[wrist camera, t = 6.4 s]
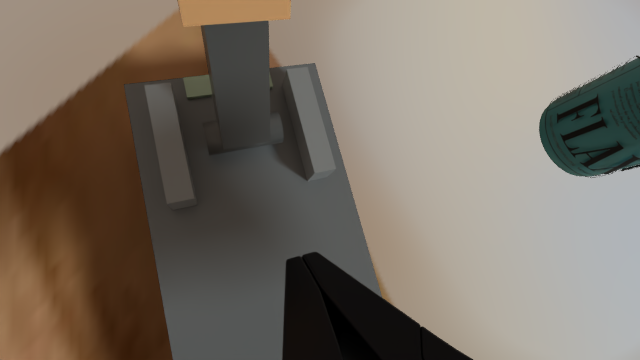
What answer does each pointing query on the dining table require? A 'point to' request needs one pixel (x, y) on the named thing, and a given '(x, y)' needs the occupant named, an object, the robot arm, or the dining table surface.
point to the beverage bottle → (596, 124)
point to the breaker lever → (238, 69)
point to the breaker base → (240, 212)
